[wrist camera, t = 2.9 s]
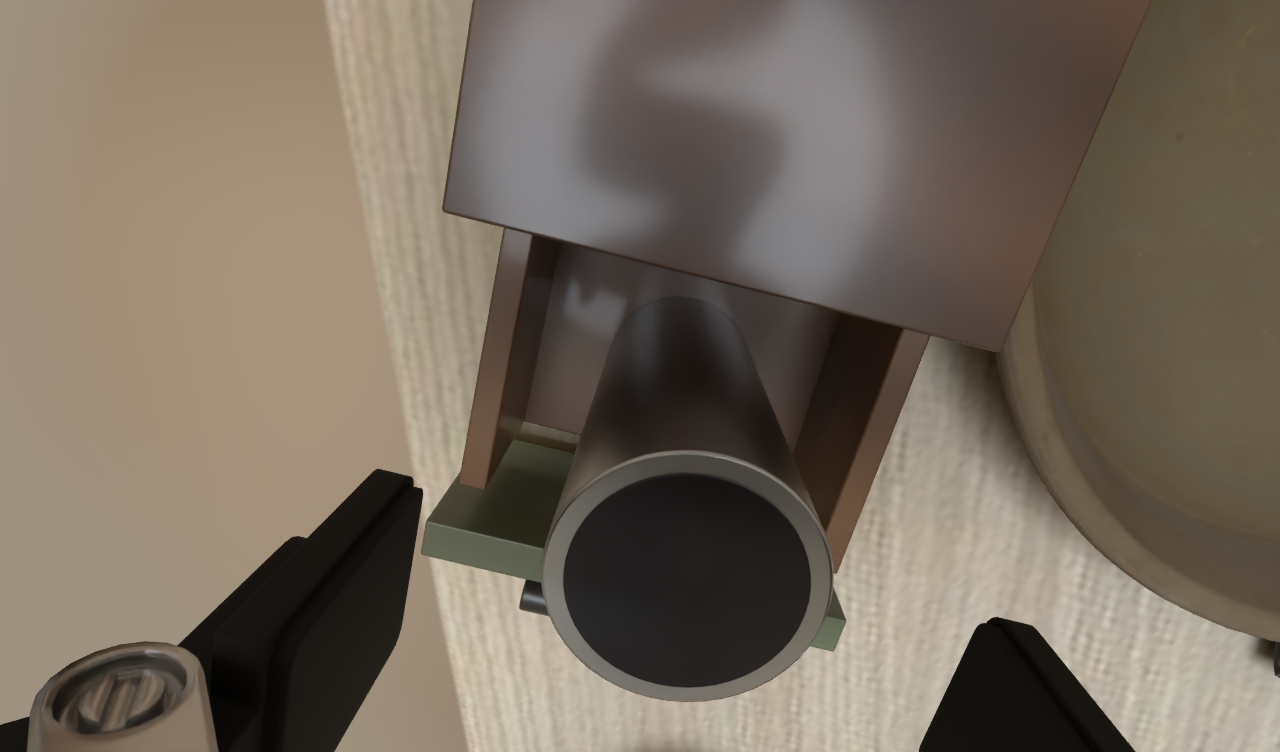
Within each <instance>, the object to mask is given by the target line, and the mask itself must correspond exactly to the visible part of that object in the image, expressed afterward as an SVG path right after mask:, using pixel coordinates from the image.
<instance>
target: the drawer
mask: <svg viewBox="0 0 1280 752" xmlns="http://www.w3.org/2000/svg"><path fill="white" fill-rule="evenodd" d="M675 297H681V298H691V299H696V300H699V301H703V302H706V303H708V304H710V305H712V306H714V307H716V308H717V309H719V310H720V311H722V312H723V313H724V314H725V315H726V316H728V317H729V318H730V319H731V321H732V322H733V323H734V324H735V325H736V327H737V328H738V330H739V331H740V333H741V335H742V337H743V339H744V341H745V344H746V346H747V349H748V351H749V353H750V356H751V358H752V360H753V363H754V365H755V368H756V370H757V372H758V375H759V377H760V379H761V382H762V384H763V387H764V389H765V391H766V394H767V396H768V398H769V401H770V403H771V406H772V408H773V410H774V413H775V415H776V417H777V420H778V422H779V425H780V427H781V429H782V432H783V434H784V436H785V439H786V441H787V444H788V446H789V448H790V451H791V453H792V455H793V458H794V460H795V463H796V465H797V467H798V470H799V472H800V474H801V477H802V479H803V482H804V484H805V486H806V489H807V491H808V493H809V496H810V498H811V501H812V503H813V505H814V508H815V510H816V512H817V515H818V517H819V520H820V522H821V524H822V527H823V529H824V531H825V534H826V537H827V540H828V543H829V546H830V549H831V554H832V561H833V567H834V573H837V572H838V569H839V567H840V564H841V562H842V559H843V557H844V554H845V552H846V549H847V546H848V544H849V541H850V539H851V536H852V534H853V531H854V529H855V526H856V524H857V521H858V519H859V516H860V513H861V511H862V508H863V506H864V503H865V501H866V498H867V496H868V493H869V491H870V488H871V485H872V483H873V480H874V478H875V475H876V473H877V470H878V468H879V465H880V463H881V460H882V458H883V455H884V452H885V450H886V447H887V445H888V442H889V440H890V437H891V435H892V432H893V430H894V427H895V424H896V422H897V419H898V417H899V414H900V412H901V409H902V407H903V404H904V402H905V399H906V397H907V394H908V391H909V389H910V386H911V384H912V381H913V379H914V376H915V374H916V371H917V369H918V366H919V364H920V361H921V358H922V356H923V353H924V351H925V348H926V346H927V343H928V341H929V338H930V336H931V335H927V334H923V333H919V332H915V331H911V330H907V329H903V328H899V327H895V326H891V325H887V324H883V323H879V322H875V321H871V320H867V319H864V318H860V317H856V316H852V315H848V314H844V313H840V312H836V311H832V310H828V309H824V308H820V307H816V306H812V305H808V304H804V303H800V302H796V301H792V300H788V299H784V298H780V297H776V296H772V295H768V294H765V293H761V292H757V291H753V290H749V289H745V288H741V287H737V286H733V285H729V284H725V283H721V282H717V281H713V280H709V279H705V278H701V277H697V276H693V275H689V274H685V273H681V272H677V271H673V270H669V269H666V268H662V267H658V266H654V265H650V264H646V263H642V262H638V261H634V260H630V259H626V258H622V257H618V256H614V255H610V254H606V253H602V252H598V251H594V250H590V249H586V248H582V247H578V246H574V245H570V244H567V243H563V242H559V241H555V240H551V239H547V238H543V237H539V236H535V235H531V234H527V233H523V232H519V231H515V230H511V229H507V228H504V230H503V236H502V242H501V247H500V253H499V259H498V264H497V270H496V275H495V281H494V287H493V292H492V298H491V304H490V309H489V315H488V321H487V326H486V332H485V338H484V343H483V349H482V354H481V360H480V366H479V371H478V377H477V383H476V388H475V394H474V400H473V405H472V411H471V417H470V422H469V428H468V433H467V439H466V445H465V450H464V456H463V462H462V467H461V471H460V473H459V474H458V476H457V477H456V479H455V480H454V482H453V483H452V484H451V486H450V487H449V489H448V490H447V492H446V493H445V495H444V496H443V498H442V499H441V500H440V502H439V503H438V505H437V506H436V508H435V509H434V511H433V512H432V514H431V515H430V516H429V518H428V519H427V521H426V525H425V531H424V538H423V544H422V550H421V554H422V555H426V556H430V557H434V558H438V559H443V560H447V561H451V562H455V563H460V564H464V565H468V566H472V567H477V568H481V569H485V570H489V571H494V572H498V573H502V574H506V575H510V576H515V577H519V578H523V579H526V581H525V585H524V588H523V592H522V596H521V600H520V605H519V608H520V610H524V611H528V612H532V613H537V614H541V615H545V616H549V614H548V611H547V607H546V604H545V601H544V597H543V591H542V584H541V563H542V556H543V550H544V546H545V543H546V540H547V537H548V533H549V530H550V527H551V524H552V521H553V518H554V515H555V512H556V509H557V506H558V503H559V500H560V497H561V494H562V491H563V488H564V485H565V482H566V479H567V476H568V473H569V470H570V467H571V464H572V461H573V458H574V455H575V454H572V453H568V452H564V451H560V450H555V449H551V448H547V447H543V446H539V445H535V444H531V443H527V442H522V441H518V440H514V438H515V436H516V434H517V433H518V431H519V429H520V427H521V426H522V424H523V422H524V421H526V422H530V423H534V424H538V425H542V426H546V427H551V428H555V429H559V430H563V431H567V432H571V433H575V434H579V435H581V434H582V431H583V428H584V425H585V422H586V419H587V416H588V413H589V410H590V407H591V404H592V401H593V398H594V395H595V392H596V389H597V386H598V383H599V380H600V377H601V374H602V371H603V368H604V365H605V362H606V359H607V356H608V353H609V350H610V347H611V344H612V341H613V339H614V337H615V335H616V333H617V331H618V330H619V328H620V326H621V325H622V324H623V323H624V322H625V320H626V319H627V318H628V317H629V316H631V315H632V314H633V313H634V312H635V311H637V310H638V309H640V308H641V307H643V306H645V305H647V304H649V303H652V302H655V301H657V300H661V299H666V298H675ZM549 617H550V616H549ZM845 623H846V618H845V616H844V613H843V611H842V608H841V605H840V603H839V600H838V598H837V595H836V592H835V590H834V587H833V591H832V597H831V602H830V605H829V609H828V612H827V615H826V618H825V620H824V622H823V624H822V626H821V628H820V630H819V633H818V634H817V636H816V637H815V639H814V640H813V642H812V643H811V645H810V646H812V647H816V648H820V649H824V650H828V651H834V650H835V648H836V645H837V643H838V640H839V638H840V635H841V633H842V630H843V628H844V626H845Z"/></svg>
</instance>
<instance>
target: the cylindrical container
mask: <svg viewBox="0 0 1280 752" xmlns="http://www.w3.org/2000/svg"><path fill="white" fill-rule="evenodd" d="M541 584H542V591H543V597H544V601H545V604H546V607H547V611H548V614H549V616H550V618H551V620H552V623H553V625H554V627H555V629H556V631H557V632H558V634H559V635H560V637H561V638H562V640H563V642H564V643H565V644H566V646H567V647H568V648H569V649H570V650H571V651H572V653H573V654H574V655H575V656H576V657H577V658H578V659H579V660H580V661H581V662H582V663H584V664H585V665H586V666H587V667H588V668H589V669H591V670H592V671H593V672H595V673H596V674H598V675H599V676H601V677H602V678H604V679H605V680H607V681H609V682H611V683H613V684H615V685H616V686H619V687H621V688H623V689H626V690H628V691H631V692H633V693H636V694H640V695H643V696H647V697H650V698H656V699H661V700H667V701H680V702H698V701H709V700H716V699H722V698H726V697H730V696H734V695H738V694H741V693H744V692H746V691H749V690H752V689H754V688H756V687H758V686H760V685H762V684H764V683H766V682H768V681H770V680H772V679H773V678H775V677H776V676H778V675H779V674H781V673H782V672H784V671H785V670H786V669H787V668H789V667H790V666H791V665H792V664H793V663H794V662H795V661H797V660H798V659H799V658H800V656H801V655H802V654H803V653H804V652H805V651H806V650H807V649H808V647H809V646H810V645H811V643H812V642H813V640H814V639H815V637H816V636H817V634H818V633H819V630H820V628H821V626H822V624H823V622H824V620H825V618H826V615H827V612H828V609H829V605H830V602H831V597H832V591H833V584H834V567H833V561H832V554H831V549H830V546H829V543H828V540H827V537H826V534H825V531H824V529H823V527H822V524H821V522H820V520H819V517H818V515H817V512H816V510H815V508H814V505H813V503H812V501H811V498H810V496H809V493H808V491H807V489H806V486H805V484H804V482H803V479H802V477H801V474H800V472H799V470H798V467H797V465H796V463H795V460H794V458H793V455H792V453H791V451H790V448H789V446H788V444H787V441H786V439H785V436H784V434H783V432H782V429H781V427H780V425H779V422H778V420H777V417H776V415H775V413H774V410H773V408H772V406H771V403H770V401H769V398H768V396H767V394H766V391H765V389H764V387H763V384H762V382H761V379H760V377H759V375H758V372H757V370H756V368H755V365H754V363H753V360H752V358H751V356H750V353H749V351H748V349H747V346H746V344H745V341H744V339H743V337H742V335H741V333H740V331H739V330H738V328H737V327H736V325H735V324H734V323H733V322H732V321H731V319H730V318H729V317H728V316H726V315H725V314H724V313H723V312H722V311H720V310H719V309H717V308H716V307H714V306H712V305H710V304H708V303H706V302H703V301H699V300H696V299H691V298H681V297H675V298H666V299H661V300H657V301H655V302H652V303H649V304H647V305H645V306H643V307H641V308H640V309H638V310H637V311H635V312H634V313H633V314H632V315H631V316H629V317H628V318H627V319H626V320H625V322H624V323H623V324H622V325H621V326H620V328H619V330H618V331H617V333H616V335H615V337H614V339H613V341H612V344H611V347H610V350H609V353H608V356H607V359H606V362H605V365H604V368H603V371H602V374H601V377H600V380H599V383H598V386H597V389H596V392H595V395H594V398H593V401H592V404H591V407H590V410H589V413H588V416H587V419H586V422H585V425H584V428H583V431H582V434H581V437H580V440H579V443H578V446H577V449H576V452H575V455H574V458H573V461H572V464H571V467H570V470H569V473H568V476H567V479H566V482H565V485H564V488H563V491H562V494H561V497H560V500H559V503H558V506H557V509H556V512H555V515H554V518H553V521H552V524H551V527H550V530H549V533H548V537H547V540H546V543H545V546H544V550H543V556H542V563H541Z"/></svg>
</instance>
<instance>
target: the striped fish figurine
mask: <svg viewBox="0 0 1280 752" xmlns="http://www.w3.org/2000/svg"><path fill="white" fill-rule="evenodd" d="M1274 672H1275V676H1277V677H1279V678H1280V642H1276V643H1275V647H1274Z"/></svg>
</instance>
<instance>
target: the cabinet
mask: <svg viewBox="0 0 1280 752" xmlns="http://www.w3.org/2000/svg"><path fill="white" fill-rule="evenodd" d="M1151 2H1152V0H473V3H472V10H471V16H470V23H469V30H468V37H467V44H466V50H465V57H464V64H463V71H462V78H461V84H460V91H459V98H458V105H457V111H456V118H455V125H454V132H453V139H452V145H451V152H450V159H449V166H448V172H447V179H446V186H445V193H444V200H443V206H442V210H443V212H445V213H448V214H452V215H456V216H460V217H464V218H468V219H471V220H475V221H479V222H483V223H487V224H491V225H495V226H499V227H503V228H507V229H511V230H515V231H519V232H523V233H527V234H531V235H535V236H539V237H543V238H547V239H551V240H555V241H559V242H563V243H567V244H570V245H574V246H578V247H582V248H586V249H590V250H594V251H598V252H602V253H606V254H610V255H614V256H618V257H622V258H626V259H630V260H634V261H638V262H642V263H646V264H650V265H654V266H658V267H662V268H666V269H669V270H673V271H677V272H681V273H685V274H689V275H693V276H697V277H701V278H705V279H709V280H713V281H717V282H721V283H725V284H729V285H733V286H737V287H741V288H745V289H749V290H753V291H757V292H761V293H765V294H768V295H772V296H776V297H780V298H784V299H788V300H792V301H796V302H800V303H804V304H808V305H812V306H816V307H820V308H824V309H828V310H832V311H836V312H840V313H844V314H848V315H852V316H856V317H860V318H864V319H867V320H871V321H875V322H879V323H883V324H887V325H891V326H895V327H899V328H903V329H907V330H911V331H915V332H919V333H923V334H927V335H931V336H935V337H939V338H943V339H947V340H951V341H955V342H959V343H963V344H966V345H970V346H974V347H978V348H982V349H986V350H990V351H994V352H1000V351H1001V350H1002V348H1003V345H1004V343H1005V341H1006V338H1007V336H1008V334H1009V331H1010V329H1011V327H1012V324H1013V322H1014V320H1015V317H1016V315H1017V313H1018V310H1019V308H1020V306H1021V303H1022V301H1023V299H1024V296H1025V294H1026V292H1027V290H1028V287H1029V285H1030V283H1031V280H1032V278H1033V276H1034V273H1035V271H1036V269H1037V266H1038V264H1039V262H1040V259H1041V257H1042V255H1043V252H1044V250H1045V248H1046V245H1047V243H1048V241H1049V238H1050V236H1051V234H1052V232H1053V229H1054V227H1055V225H1056V222H1057V220H1058V218H1059V215H1060V213H1061V211H1062V208H1063V206H1064V204H1065V201H1066V199H1067V197H1068V194H1069V192H1070V190H1071V187H1072V185H1073V183H1074V180H1075V178H1076V176H1077V174H1078V171H1079V169H1080V167H1081V164H1082V162H1083V160H1084V157H1085V155H1086V153H1087V150H1088V148H1089V146H1090V143H1091V141H1092V139H1093V136H1094V134H1095V132H1096V129H1097V127H1098V125H1099V122H1100V120H1101V118H1102V116H1103V113H1104V111H1105V109H1106V106H1107V104H1108V102H1109V99H1110V97H1111V95H1112V92H1113V90H1114V88H1115V85H1116V83H1117V81H1118V78H1119V76H1120V74H1121V71H1122V69H1123V67H1124V64H1125V62H1126V60H1127V57H1128V55H1129V53H1130V51H1131V48H1132V46H1133V44H1134V41H1135V39H1136V37H1137V34H1138V32H1139V30H1140V27H1141V25H1142V23H1143V20H1144V18H1145V16H1146V13H1147V11H1148V9H1149V6H1150V4H1151Z"/></svg>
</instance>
